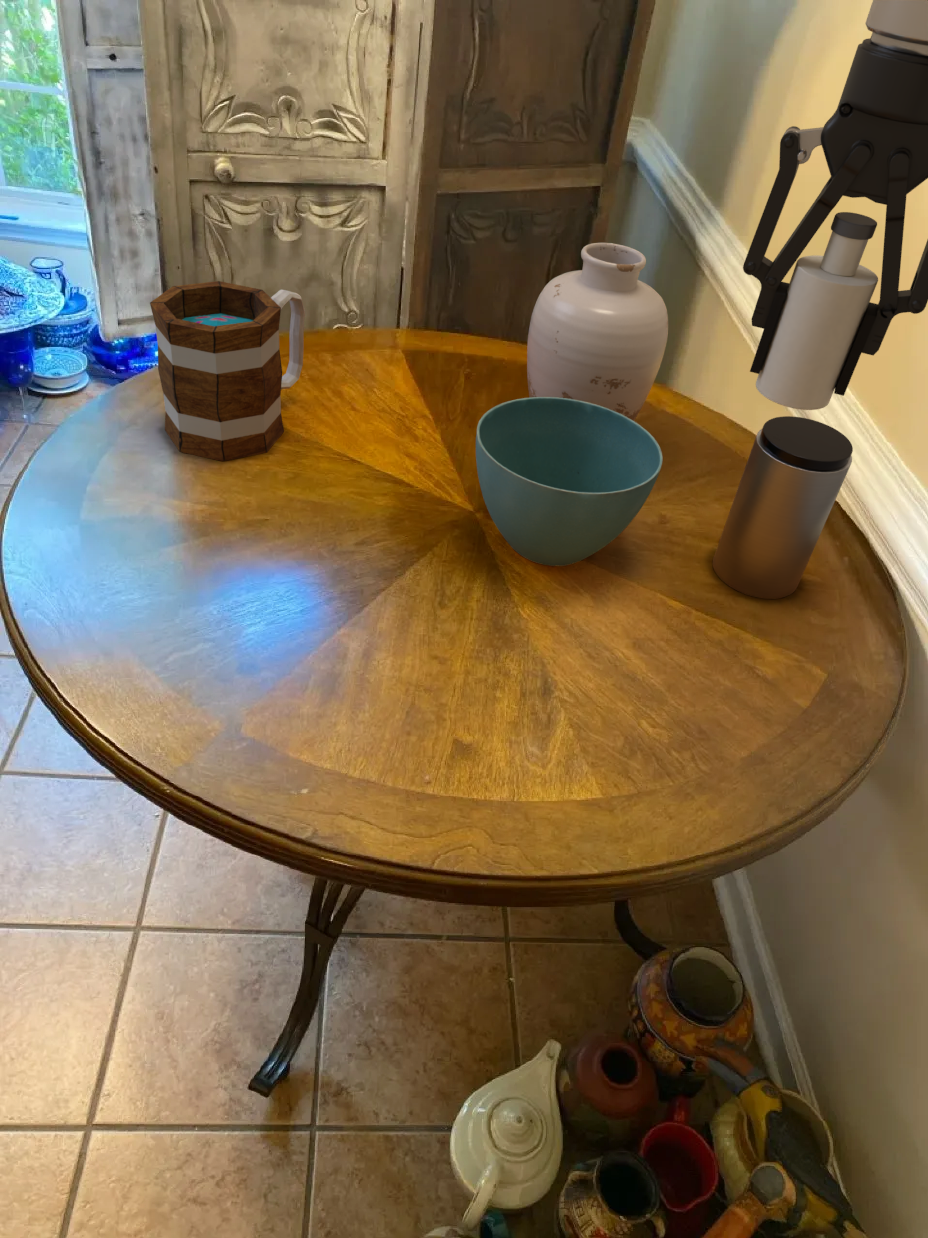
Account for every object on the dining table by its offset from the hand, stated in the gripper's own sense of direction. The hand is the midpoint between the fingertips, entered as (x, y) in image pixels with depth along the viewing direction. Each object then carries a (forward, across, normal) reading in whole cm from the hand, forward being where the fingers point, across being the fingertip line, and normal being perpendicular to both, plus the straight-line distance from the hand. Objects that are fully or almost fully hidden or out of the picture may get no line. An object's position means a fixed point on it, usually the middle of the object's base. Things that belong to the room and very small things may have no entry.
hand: (798, 376), depth 74 cm
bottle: (+1, 0, 0) cm, 1 cm away
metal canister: (+25, -3, -9) cm, 27 cm away
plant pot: (+25, +18, -3) cm, 31 cm away
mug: (+26, +58, -8) cm, 64 cm away
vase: (+26, +22, -26) cm, 43 cm away
